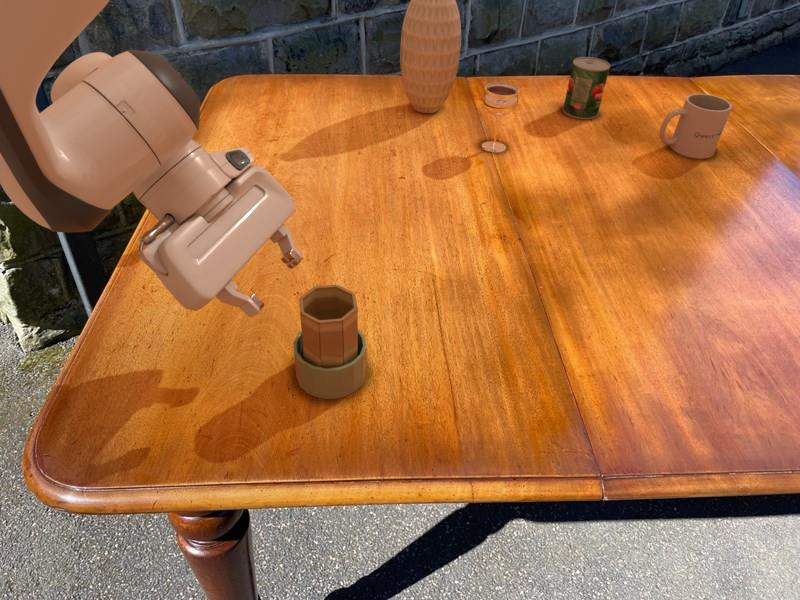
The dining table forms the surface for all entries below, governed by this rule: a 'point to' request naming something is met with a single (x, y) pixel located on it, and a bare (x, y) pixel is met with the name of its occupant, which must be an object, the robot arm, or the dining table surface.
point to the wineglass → (499, 108)
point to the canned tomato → (586, 87)
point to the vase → (430, 52)
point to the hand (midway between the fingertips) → (278, 286)
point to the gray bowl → (330, 373)
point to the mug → (698, 125)
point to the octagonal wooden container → (329, 326)
